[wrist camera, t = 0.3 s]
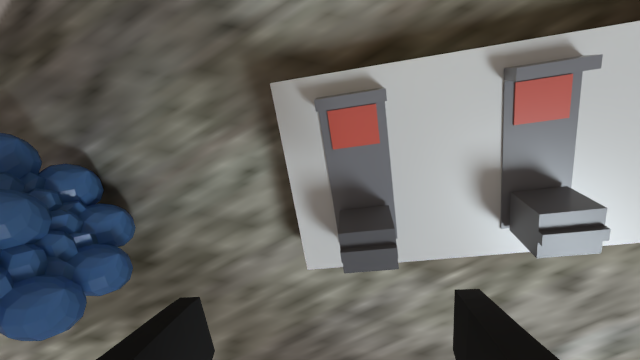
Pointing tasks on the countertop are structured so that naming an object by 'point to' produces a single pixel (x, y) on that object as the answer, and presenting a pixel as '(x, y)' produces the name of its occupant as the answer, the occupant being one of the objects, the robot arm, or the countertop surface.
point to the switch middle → (558, 222)
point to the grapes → (54, 243)
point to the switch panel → (466, 141)
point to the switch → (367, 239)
